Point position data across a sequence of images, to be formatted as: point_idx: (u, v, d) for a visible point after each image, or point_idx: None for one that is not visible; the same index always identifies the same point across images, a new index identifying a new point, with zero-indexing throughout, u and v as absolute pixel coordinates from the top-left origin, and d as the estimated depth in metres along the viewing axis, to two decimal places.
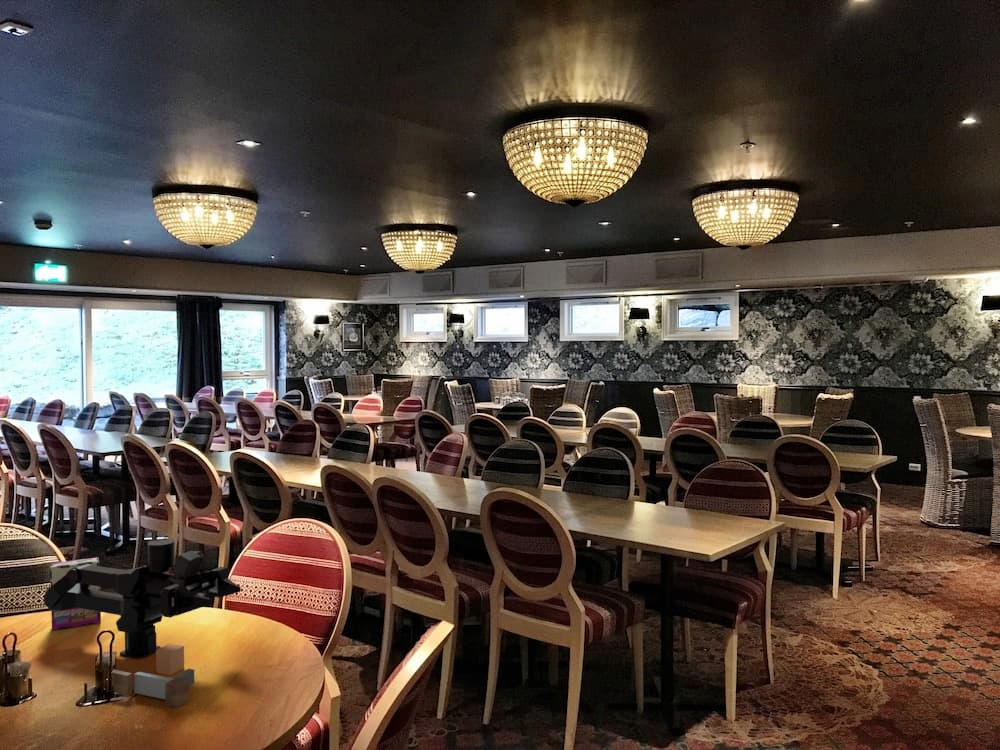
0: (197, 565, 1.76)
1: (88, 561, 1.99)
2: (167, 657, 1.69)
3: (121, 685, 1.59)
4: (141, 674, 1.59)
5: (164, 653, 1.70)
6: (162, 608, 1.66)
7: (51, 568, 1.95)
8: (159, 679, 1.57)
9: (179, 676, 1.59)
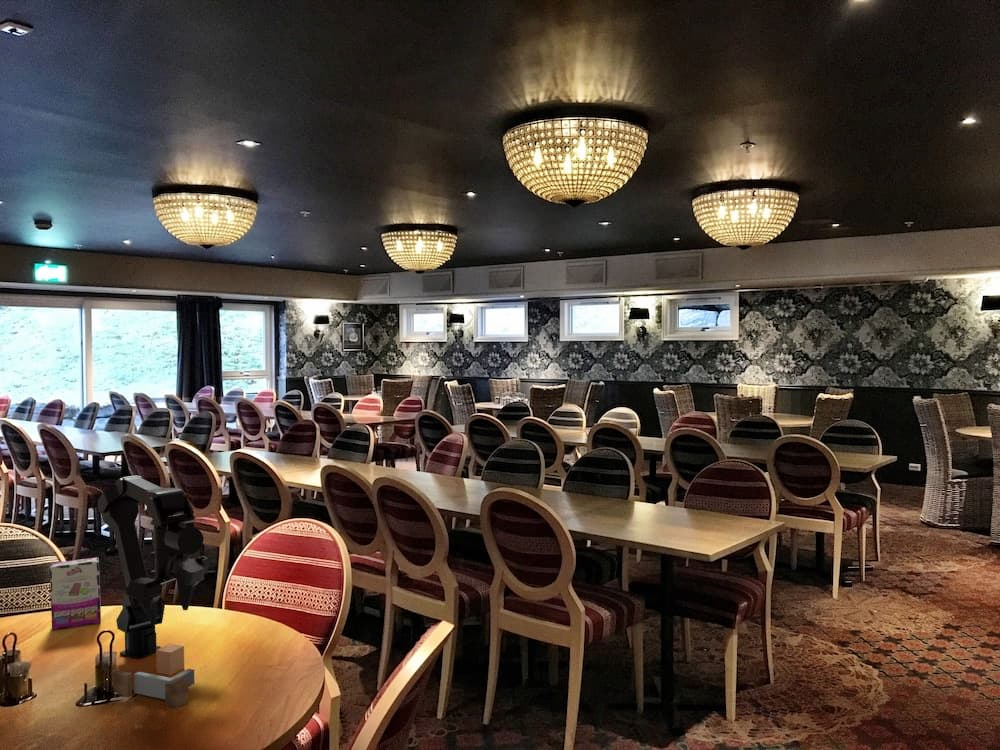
0: None
1: (88, 561, 1.99)
2: (167, 657, 1.69)
3: (121, 685, 1.59)
4: (141, 674, 1.59)
5: (164, 653, 1.70)
6: (131, 588, 1.63)
7: (51, 568, 1.95)
8: (159, 679, 1.57)
9: (179, 676, 1.59)
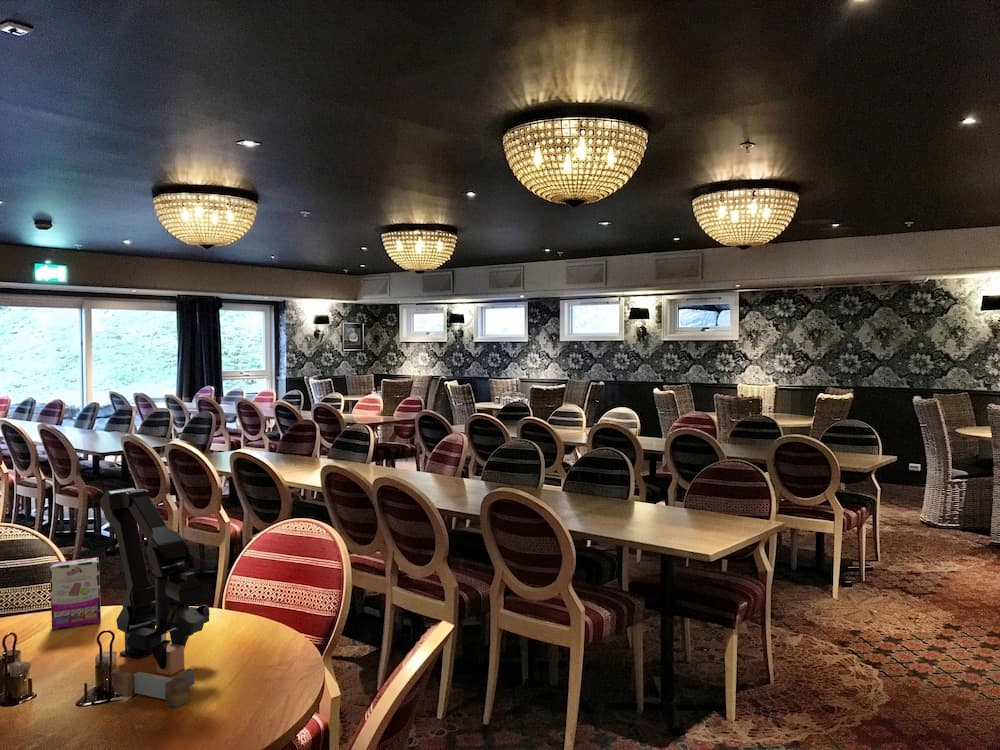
0: None
1: (88, 561, 1.99)
2: (167, 657, 1.69)
3: (121, 685, 1.59)
4: (141, 674, 1.59)
5: None
6: (132, 639, 1.63)
7: (51, 568, 1.95)
8: (159, 679, 1.57)
9: (179, 676, 1.59)
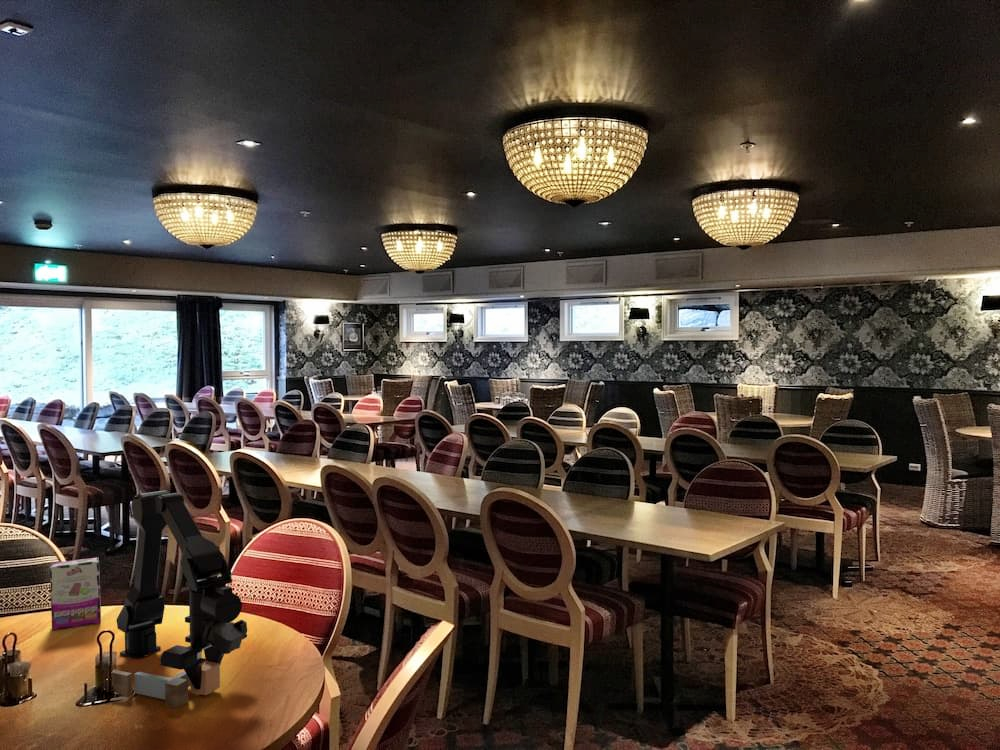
0: None
1: (88, 561, 1.99)
2: (202, 676, 1.58)
3: (121, 685, 1.59)
4: (141, 674, 1.59)
5: None
6: (166, 658, 1.51)
7: (51, 568, 1.95)
8: (159, 679, 1.57)
9: (179, 676, 1.59)
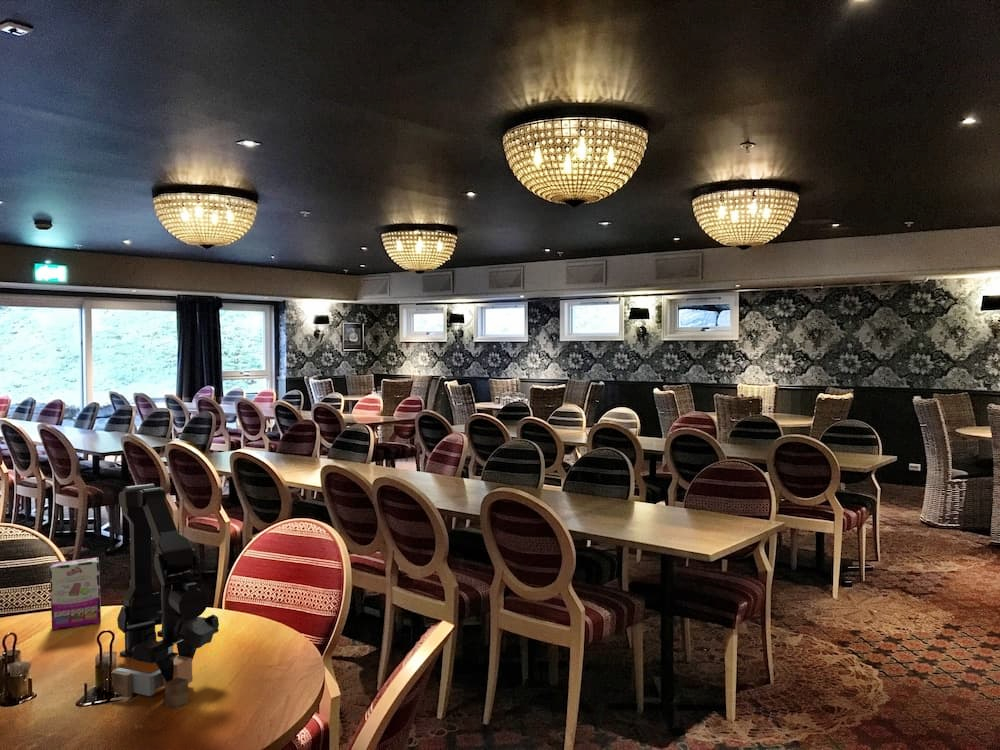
0: None
1: (88, 561, 1.99)
2: (174, 670, 1.60)
3: (121, 685, 1.59)
4: (121, 670, 1.61)
5: None
6: (137, 652, 1.54)
7: (51, 568, 1.95)
8: (139, 675, 1.59)
9: (159, 672, 1.61)
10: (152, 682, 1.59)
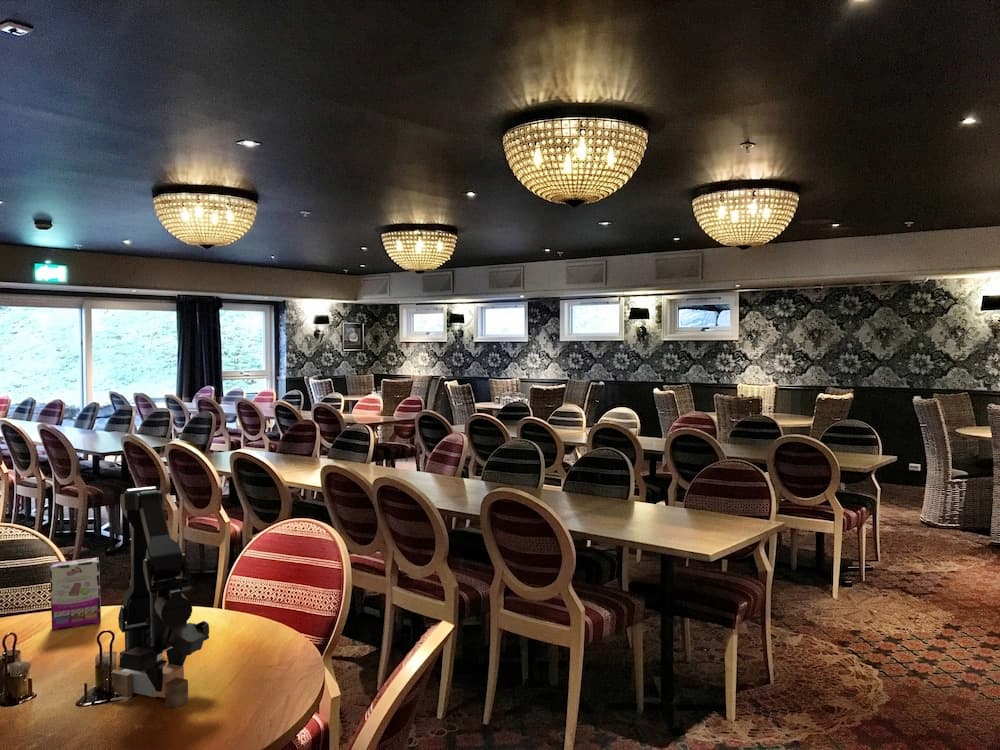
0: None
1: (88, 561, 1.99)
2: (165, 679, 1.56)
3: (121, 685, 1.59)
4: (127, 671, 1.61)
5: None
6: (125, 660, 1.50)
7: (51, 568, 1.95)
8: (145, 676, 1.59)
9: None
10: None
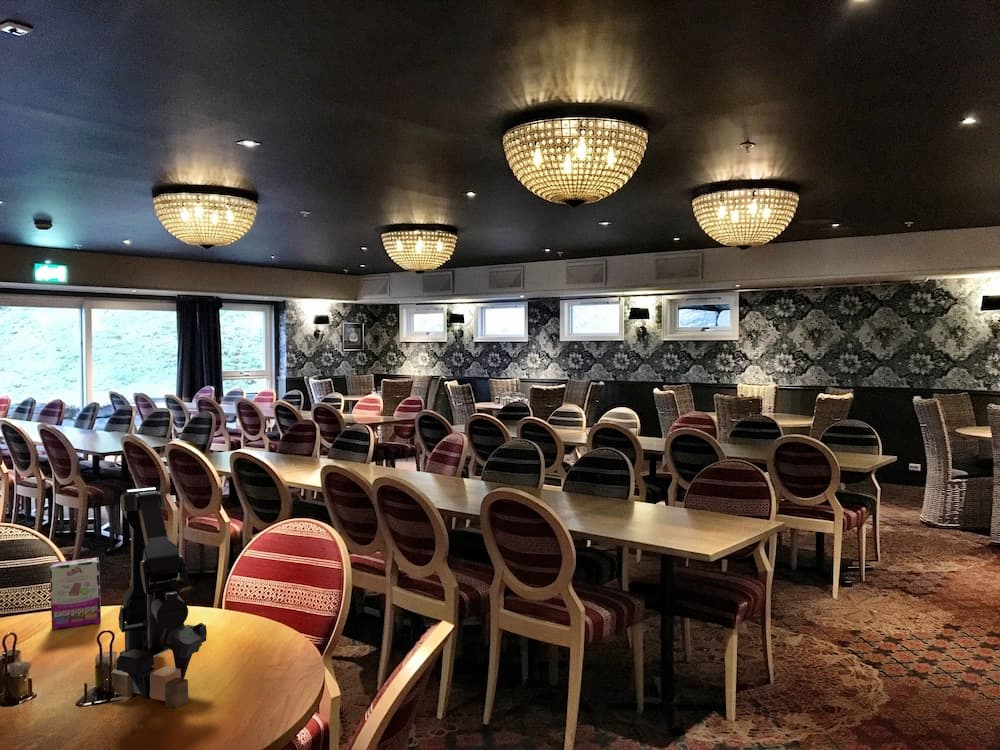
0: None
1: (88, 561, 1.99)
2: (162, 682, 1.55)
3: (121, 685, 1.59)
4: None
5: (159, 677, 1.55)
6: (121, 662, 1.49)
7: (51, 568, 1.95)
8: None
9: None
10: None
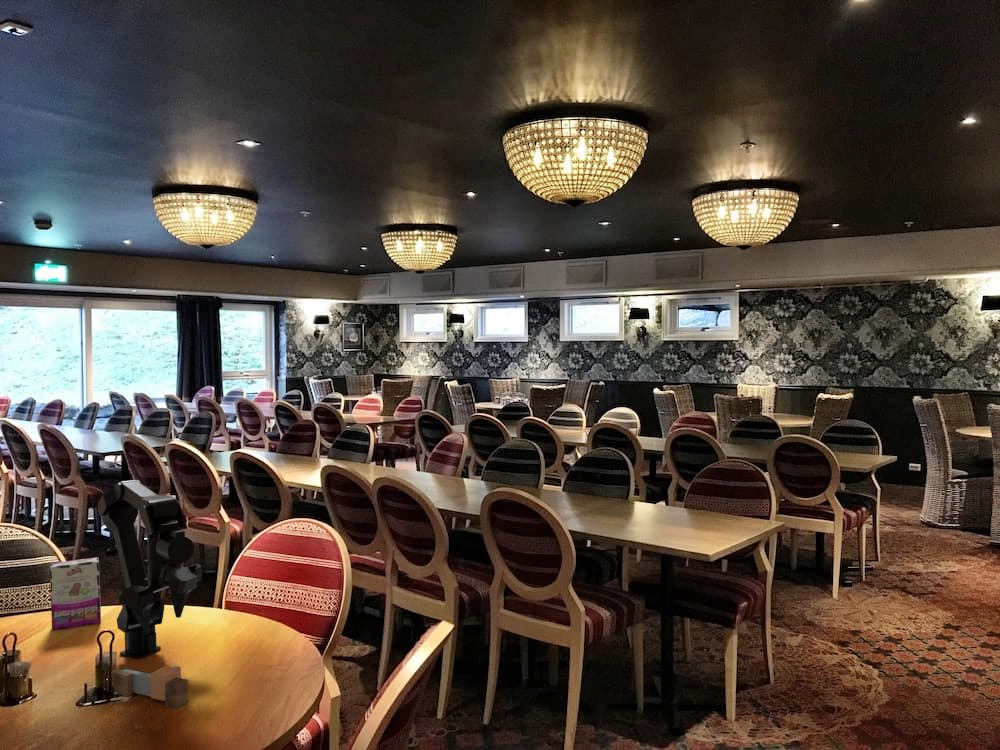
0: None
1: (88, 561, 1.99)
2: (162, 682, 1.55)
3: (121, 685, 1.59)
4: (127, 671, 1.61)
5: (159, 677, 1.55)
6: (124, 596, 1.64)
7: (51, 568, 1.95)
8: (145, 676, 1.59)
9: None
10: None
